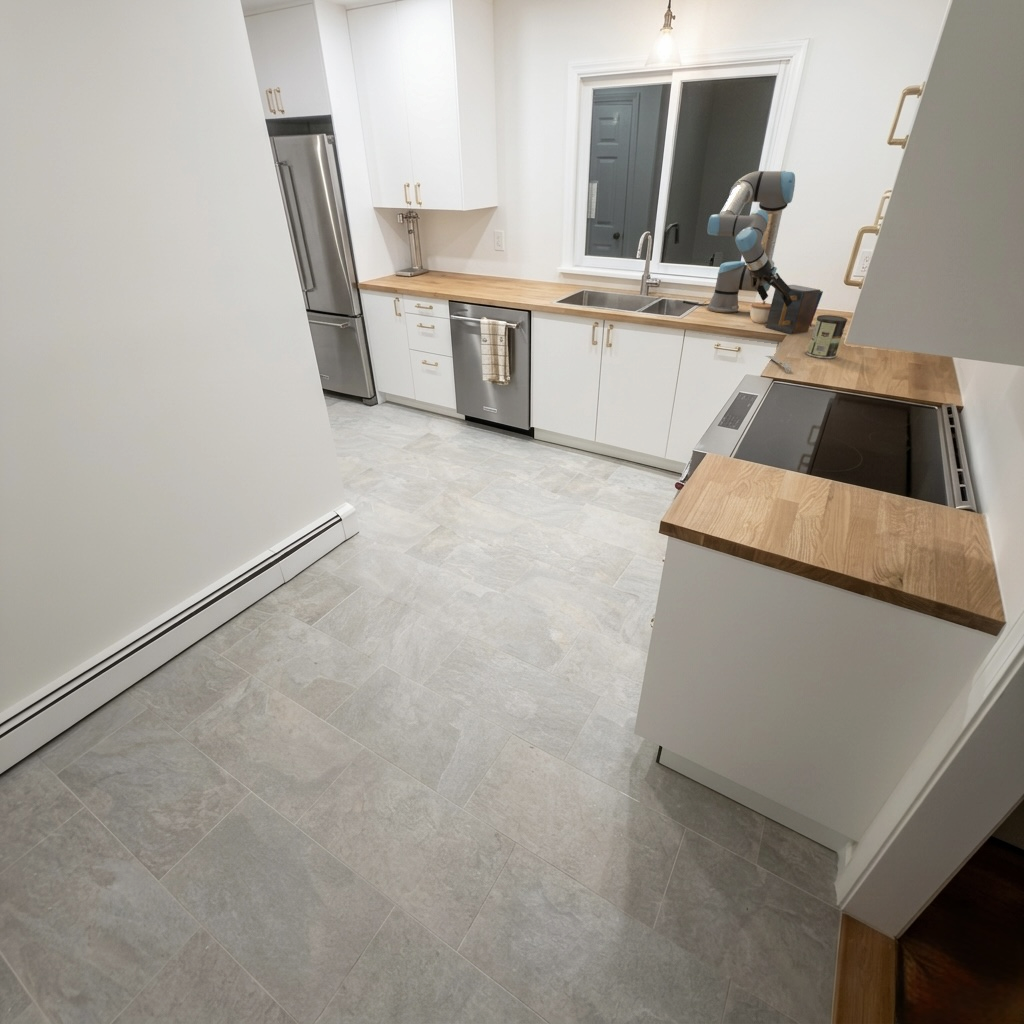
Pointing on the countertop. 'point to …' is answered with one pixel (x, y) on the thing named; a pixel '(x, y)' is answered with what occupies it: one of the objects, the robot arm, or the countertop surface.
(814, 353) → the coffee can
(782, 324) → the cupboard door
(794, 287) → the cupboard
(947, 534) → the countertop surface
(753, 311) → the trinket box
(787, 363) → the fork
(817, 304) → the brown tall block
